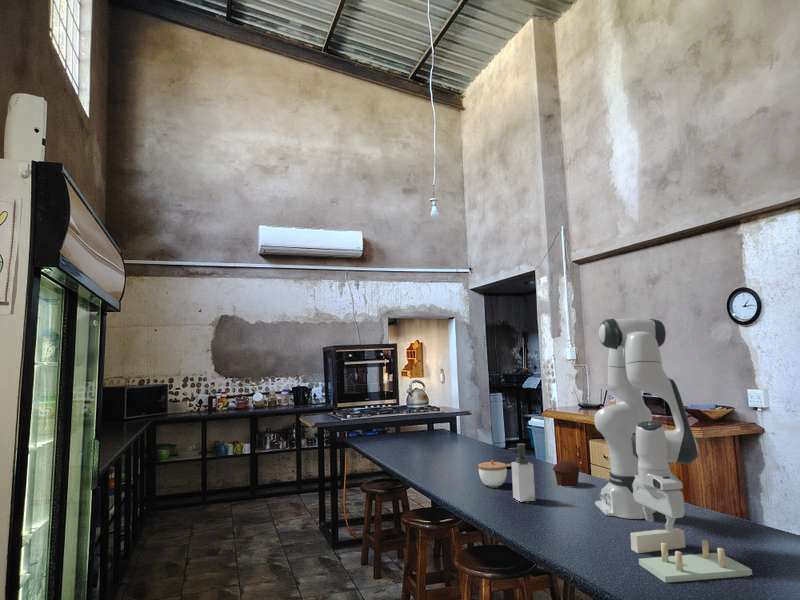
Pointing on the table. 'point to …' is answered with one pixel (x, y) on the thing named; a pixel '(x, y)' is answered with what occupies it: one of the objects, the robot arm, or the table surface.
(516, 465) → the soap dispenser
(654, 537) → the off-white rectangular block
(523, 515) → the table surface
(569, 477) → the muffin
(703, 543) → the rack
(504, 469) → the lidded bowl
